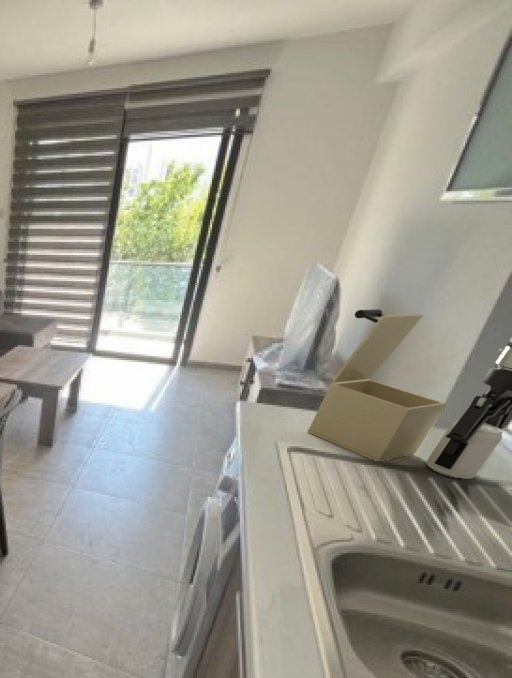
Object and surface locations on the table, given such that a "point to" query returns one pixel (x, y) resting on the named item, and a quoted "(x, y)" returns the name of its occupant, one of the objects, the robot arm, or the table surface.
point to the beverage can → (468, 452)
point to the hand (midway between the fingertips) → (453, 463)
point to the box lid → (376, 344)
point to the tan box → (375, 419)
